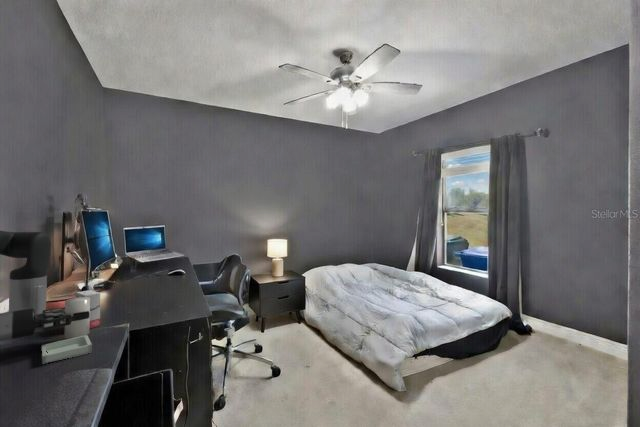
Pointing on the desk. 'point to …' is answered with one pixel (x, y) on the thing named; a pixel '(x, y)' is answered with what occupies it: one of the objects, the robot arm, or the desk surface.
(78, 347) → the tray
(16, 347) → the desk surface
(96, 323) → the ink box
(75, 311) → the white pillar candle
